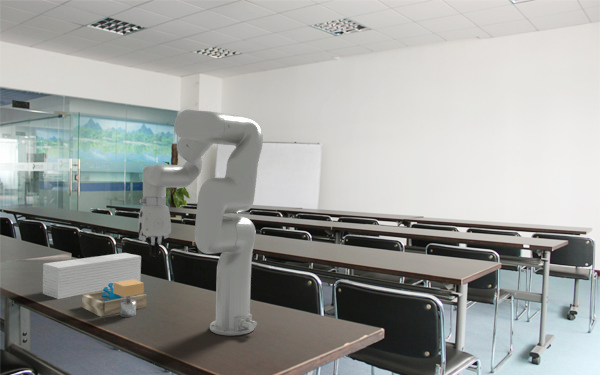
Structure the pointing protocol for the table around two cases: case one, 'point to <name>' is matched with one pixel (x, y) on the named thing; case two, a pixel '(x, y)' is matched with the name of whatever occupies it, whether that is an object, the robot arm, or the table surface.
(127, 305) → the silver metal rounded piece
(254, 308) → the table surface
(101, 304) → the chassis bay
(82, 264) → the stack of papers
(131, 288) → the block
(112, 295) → the gear
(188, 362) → the table surface
